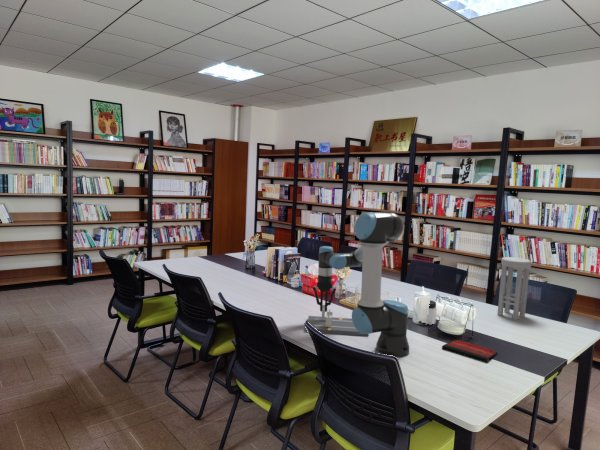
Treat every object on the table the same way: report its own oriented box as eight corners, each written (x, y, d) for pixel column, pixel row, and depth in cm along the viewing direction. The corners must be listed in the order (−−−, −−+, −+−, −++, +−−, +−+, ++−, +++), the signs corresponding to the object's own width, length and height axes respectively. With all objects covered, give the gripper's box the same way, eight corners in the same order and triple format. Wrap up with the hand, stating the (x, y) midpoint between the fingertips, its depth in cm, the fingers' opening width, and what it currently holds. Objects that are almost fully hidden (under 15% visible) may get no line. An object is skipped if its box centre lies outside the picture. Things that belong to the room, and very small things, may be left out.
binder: (487, 358, 186) (441, 345, 200) (487, 364, 186) (441, 350, 200) (498, 350, 198) (455, 338, 212) (498, 355, 198) (454, 342, 212)
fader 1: (332, 320, 227) (332, 311, 226) (326, 320, 227) (326, 311, 227) (332, 318, 231) (332, 309, 230) (326, 317, 231) (327, 309, 231)
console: (368, 336, 212) (368, 332, 212) (305, 332, 215) (305, 328, 215) (365, 322, 233) (366, 319, 233) (308, 318, 236) (308, 315, 236)
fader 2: (331, 326, 217) (331, 317, 216) (325, 326, 217) (325, 317, 217) (331, 324, 221) (331, 315, 220) (325, 323, 221) (326, 314, 221)
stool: (518, 321, 245) (524, 262, 241) (492, 314, 257) (497, 258, 253) (529, 316, 255) (535, 260, 251) (504, 310, 266) (509, 256, 263)
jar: (416, 320, 240) (417, 299, 239) (428, 319, 243) (430, 299, 242) (425, 325, 232) (426, 304, 231) (437, 324, 234) (439, 303, 233)
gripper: (337, 274, 230) (335, 315, 232) (313, 272, 231) (311, 314, 233) (337, 277, 222) (335, 320, 225) (312, 275, 223) (311, 318, 226)
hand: (323, 317), depth 229 cm, fingers closed
